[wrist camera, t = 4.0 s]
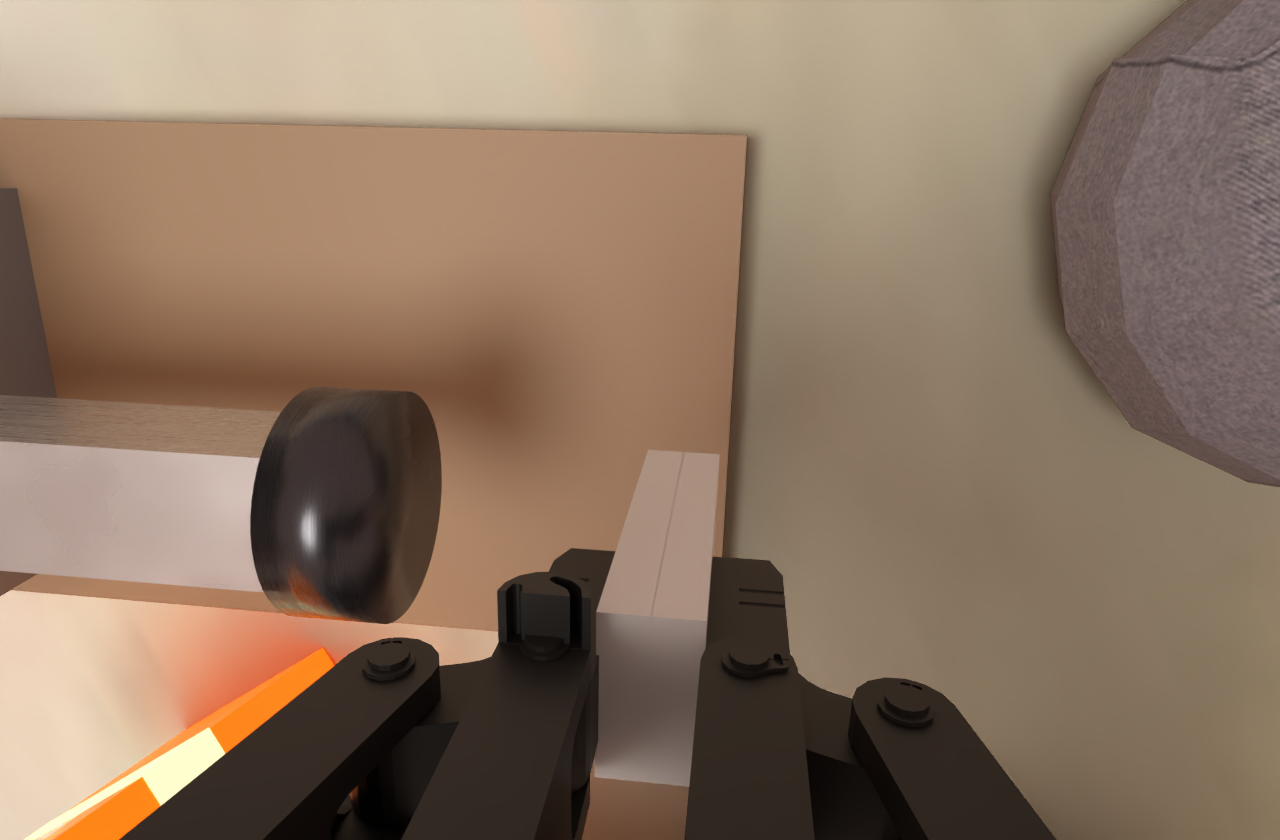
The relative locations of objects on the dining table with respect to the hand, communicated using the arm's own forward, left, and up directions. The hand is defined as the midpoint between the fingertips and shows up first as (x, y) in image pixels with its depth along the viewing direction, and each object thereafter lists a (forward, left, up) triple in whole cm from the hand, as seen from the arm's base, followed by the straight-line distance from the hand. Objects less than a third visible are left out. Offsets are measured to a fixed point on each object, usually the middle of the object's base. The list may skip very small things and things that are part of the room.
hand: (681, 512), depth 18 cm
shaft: (+15, 0, -2) cm, 15 cm away
